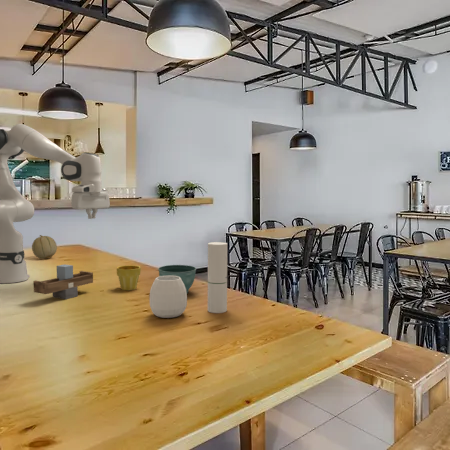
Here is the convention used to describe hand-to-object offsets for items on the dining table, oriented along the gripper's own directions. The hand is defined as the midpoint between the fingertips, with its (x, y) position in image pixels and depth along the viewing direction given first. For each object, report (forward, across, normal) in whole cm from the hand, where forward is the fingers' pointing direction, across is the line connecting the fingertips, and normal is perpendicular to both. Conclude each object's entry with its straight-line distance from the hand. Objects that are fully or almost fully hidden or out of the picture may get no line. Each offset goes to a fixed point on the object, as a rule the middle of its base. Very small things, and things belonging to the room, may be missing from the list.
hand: (91, 218), depth 194 cm
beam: (+31, +22, +7) cm, 38 cm away
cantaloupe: (+31, -36, -80) cm, 93 cm away
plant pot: (+31, -2, +20) cm, 37 cm away
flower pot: (+31, -7, +43) cm, 53 cm away
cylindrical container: (+31, +6, +71) cm, 78 cm away
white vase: (+31, +21, +59) cm, 70 cm away
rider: (+24, +22, +7) cm, 33 cm away
